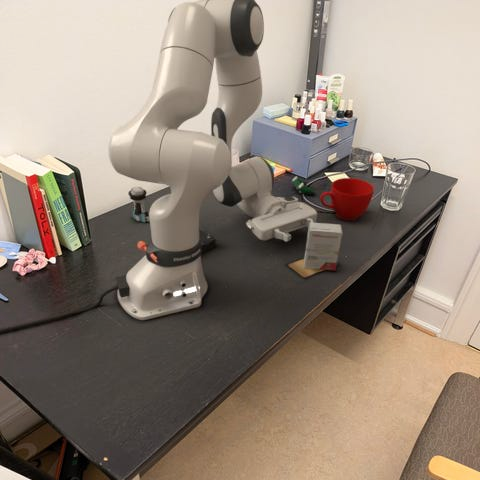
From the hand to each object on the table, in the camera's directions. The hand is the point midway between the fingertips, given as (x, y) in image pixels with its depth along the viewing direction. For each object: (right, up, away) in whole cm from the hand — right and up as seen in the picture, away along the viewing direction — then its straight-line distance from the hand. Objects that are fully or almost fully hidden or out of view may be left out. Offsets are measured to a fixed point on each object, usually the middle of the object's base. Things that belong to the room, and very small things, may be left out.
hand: (302, 234), depth 122 cm
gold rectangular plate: (+3, -8, +1) cm, 9 cm away
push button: (-48, +8, +17) cm, 51 cm away
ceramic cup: (+16, +10, +23) cm, 30 cm away
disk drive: (-33, -1, +8) cm, 34 cm away
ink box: (+5, -8, +1) cm, 10 cm away
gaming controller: (+5, +22, +36) cm, 43 cm away
